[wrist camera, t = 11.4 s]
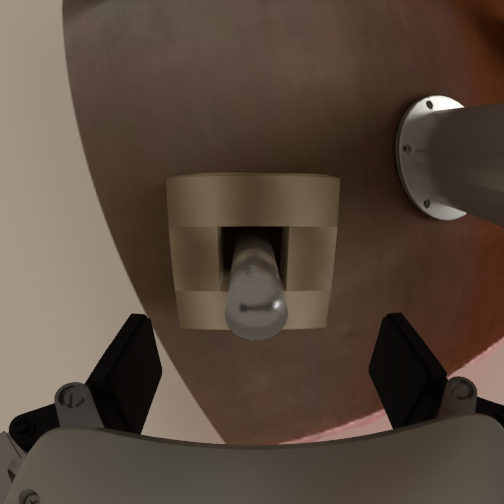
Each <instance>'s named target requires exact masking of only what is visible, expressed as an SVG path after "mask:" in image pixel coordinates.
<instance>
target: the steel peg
mask: <svg viewBox="0 0 504 504" xmlns="http://www.w3.org/2000/svg"><path fill="white" fill-rule="evenodd" d="M287 318H288V309H287V305H286V301H285V296H284V292H283V288H282V284H281V280H280V276H279V272H278V268H277V264H276V260H275V256H274V252H273V248H272V244H271V241H270V237H269V234H268V233H267V231H266V230H265V229H263V228H262V227H260V226H246V227H244V228H243V229H241V230H240V231H239V233H238V234H237V237H236V241H235V248H234V254H233V261H232V268H231V274H230V281H229V288H228V295H227V302H226V309H225V320H226V323H227V325H228V327H229V328H230V329H231V331H232V332H233V333H235V334H236V335H237V336H239V337H241V338H244V339H247V340H252V341H259V340H265V339H268V338H271V337H273V336H275V335H276V334H278V333H279V332H280V331H281V330H282V329H283V327H284V326H285V324H286V322H287Z"/></svg>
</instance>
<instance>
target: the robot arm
mask: <svg viewBox="0 0 504 504" xmlns="http://www.w3.org/2000/svg"><path fill="white" fill-rule="evenodd" d="M403 147H404V151H403ZM395 156H396V165H397V170H398V174H399V178H400V180H401V183H402V185H403V188H404V190H405V192H406V193H407V195H408V197H409V199H410V200H411V201H412V202H413V203H414V205H415V206H416V207H417V208H418V209H420V210H421V211H422V212H423V213H425V214H427V215H429V216H431V217H433V218H436V219H439V220H446V221H450V220H455V219H458V218H460V217H462V216H464V215H465V214H467V213H468V214H471V215H474V216H476V217H479V218H481V219H484V220H487V221H489V222H492V223H494V224H496V225H499V226H501V227H504V103H502V104H489V105H479V106H470V107H464V106H462V105H461V104H460V103H458V102H457V101H455V100H453V99H451V98H449V97H446V96H442V95H431V96H427V97H423V98H421V99H419V100H417V101H415V102H414V103H413V104H412V105H411V106H410V107H408V109H407V110H406V112H405V113H404V115H403V116H402V119H401V121H400V123H399V126H398V130H397V135H396V143H395ZM369 374H370V377H371V379H372V381H373V383H374V386H375V388H376V390H377V392H378V395H379V397H380V399H381V402H382V404H383V406H384V409H385V411H386V413H387V415H388V418H389V421H390V423H391V425H392V428H393V430H388V431H384V432H379V433H374V434H369V435H363V436H358V437H352V438H346V439H338V440H330V441H322V442H312V443H299V444H282V445H229V444H211V443H197V442H189V441H180V440H171V439H165V438H157V437H151V436H145V435H141V432H142V429H143V426H144V423H145V421H146V418H147V415H148V412H149V409H150V406H151V403H152V401H153V398H154V395H155V392H156V390H157V387H158V384H159V381H160V379H161V376H162V366H161V362H160V358H159V354H158V350H157V346H156V342H155V338H154V332H153V327H152V323H151V320H150V318H147V316H146V315H144V314H131V315H130V316H129V318H128V319H127V321H126V322H125V324H124V325H123V326H122V328H121V329H120V331H119V333H118V334H117V336H116V337H115V339H114V340H113V341H112V343H111V344H110V345H109V347H108V348H107V350H106V351H105V353H104V354H103V356H102V358H101V359H100V360H99V362H98V364H97V365H96V367H95V368H94V370H93V372H92V373H91V375H90V377H89V378H88V380H87V381H86V383H85V384H82V383H78V382H73V383H68V384H65V385H64V386H62V387H61V388H59V390H58V391H57V392H56V395H55V403H53V404H51V405H48V406H45V407H42V408H39V409H36V410H33V411H30V412H27V413H24V414H21V415H19V416H17V417H15V418H14V419H13V420H12V422H11V423H10V426H9V432H8V433H6V432H5V431H3V432H2V433H0V504H504V406H503V405H500V404H497V403H494V402H491V401H488V400H485V399H482V398H479V397H477V389H476V387H475V385H474V384H473V382H471V381H470V380H469V379H467V378H464V377H459V376H458V377H453V378H450V379H449V380H448V379H447V378H446V375H447V372H446V371H445V370H444V368H443V367H442V365H441V364H440V363H439V361H438V360H437V359H436V357H435V356H434V354H433V353H432V352H431V350H430V349H429V348H428V346H427V345H426V344H425V342H424V341H423V340H422V339H421V337H420V336H419V335H418V333H417V332H416V331H415V329H414V328H413V327H412V326H411V324H410V323H409V322H408V321H407V319H406V318H405V317H404V316H403V314H402V313H389V314H387V315H386V317H384V318H383V320H382V323H381V327H380V330H379V334H378V338H377V341H376V345H375V348H374V351H373V355H372V358H371V361H370V364H369Z"/></svg>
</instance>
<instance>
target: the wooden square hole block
mask: <svg viewBox="0 0 504 504" xmlns="http://www.w3.org/2000/svg"><path fill="white" fill-rule="evenodd" d="M166 191H167V210H168V225H169V238H170V249H171V260H172V269H173V278H174V287H175V295H176V303H177V310H178V317H179V324H180V328H182V329H210V330H231V329H230V328H229V327H228V325H227V323H226V320H225V309H226V302H227V295H228V288H229V281H230V274H231V269H225V267H224V236H223V226H282V235H281V263H280V269H278V272H279V276H280V280H281V284H282V288H283V292H284V296H285V301H286V305H287V309H288V318H287V322H286V324H285V326H284V327H283V329H308V328H325V327H326V321H327V314H328V307H329V300H330V293H331V285H332V276H333V268H334V258H335V248H336V237H337V225H338V211H339V195H340V178H337V177H333V176H329V175H325V174H307V173H272V172H229V173H194V174H180V175H176V176H172V177H168V178H166Z"/></svg>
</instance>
